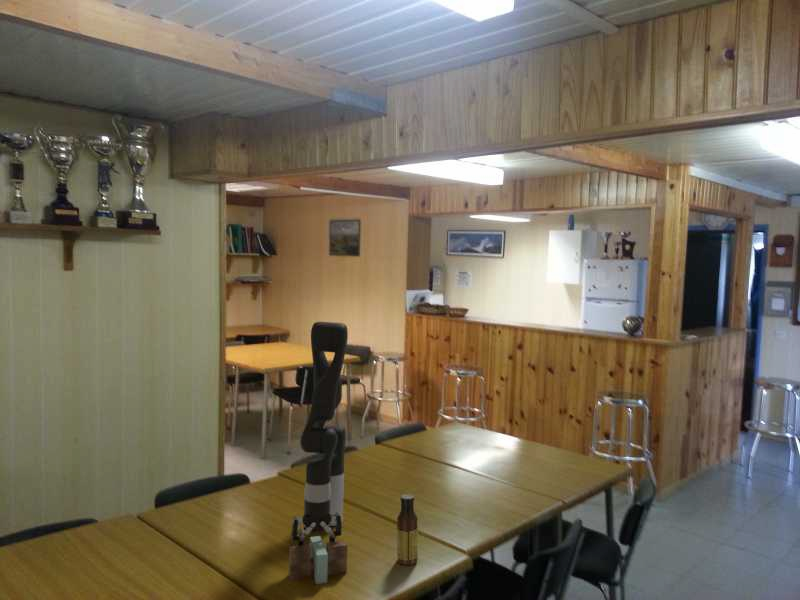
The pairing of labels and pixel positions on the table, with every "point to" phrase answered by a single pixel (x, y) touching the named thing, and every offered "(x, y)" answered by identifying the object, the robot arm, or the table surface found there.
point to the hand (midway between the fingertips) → (316, 551)
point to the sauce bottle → (407, 532)
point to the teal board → (319, 559)
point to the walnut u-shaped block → (304, 564)
